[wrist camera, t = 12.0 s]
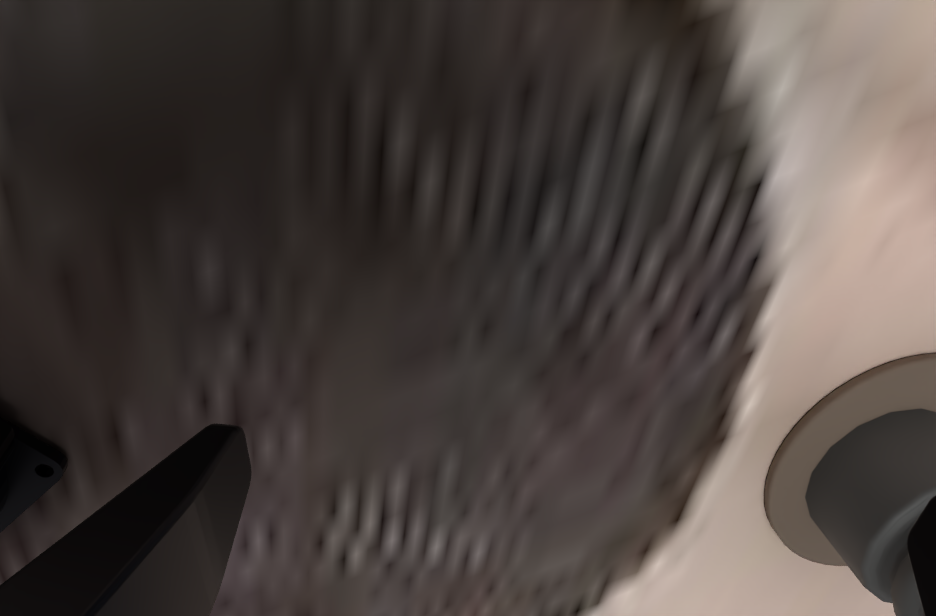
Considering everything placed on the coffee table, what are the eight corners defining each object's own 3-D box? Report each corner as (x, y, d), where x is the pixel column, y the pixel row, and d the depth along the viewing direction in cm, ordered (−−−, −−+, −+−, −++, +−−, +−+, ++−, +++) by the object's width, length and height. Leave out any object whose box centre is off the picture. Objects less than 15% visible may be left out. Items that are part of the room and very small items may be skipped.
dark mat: (828, 590, 30) (835, 599, 30) (718, 469, 26) (724, 478, 25) (1044, 458, 28) (1055, 466, 28) (965, 300, 23) (977, 307, 23)
